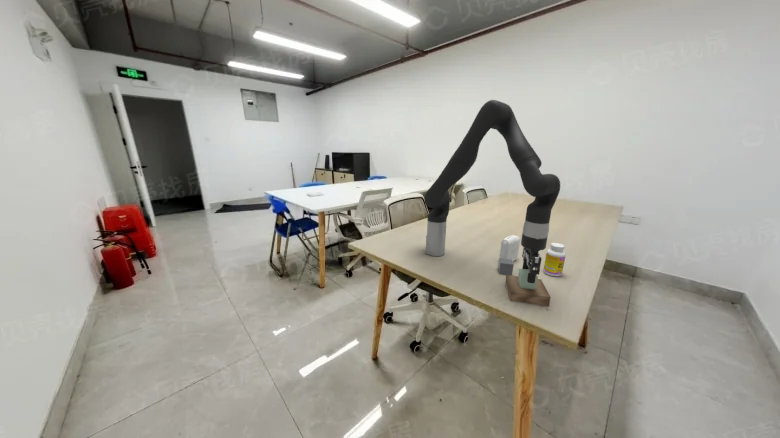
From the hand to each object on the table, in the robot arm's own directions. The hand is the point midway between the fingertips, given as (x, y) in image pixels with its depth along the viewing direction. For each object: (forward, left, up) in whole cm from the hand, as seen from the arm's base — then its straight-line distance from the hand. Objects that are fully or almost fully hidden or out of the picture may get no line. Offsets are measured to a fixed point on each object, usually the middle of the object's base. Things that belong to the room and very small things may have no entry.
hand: (528, 276), depth 89 cm
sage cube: (0, 0, -4) cm, 4 cm away
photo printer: (-2, +28, -7) cm, 29 cm away
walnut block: (0, 0, -8) cm, 8 cm away
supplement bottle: (+14, +20, -7) cm, 25 cm away
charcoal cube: (-5, +16, -7) cm, 18 cm away
